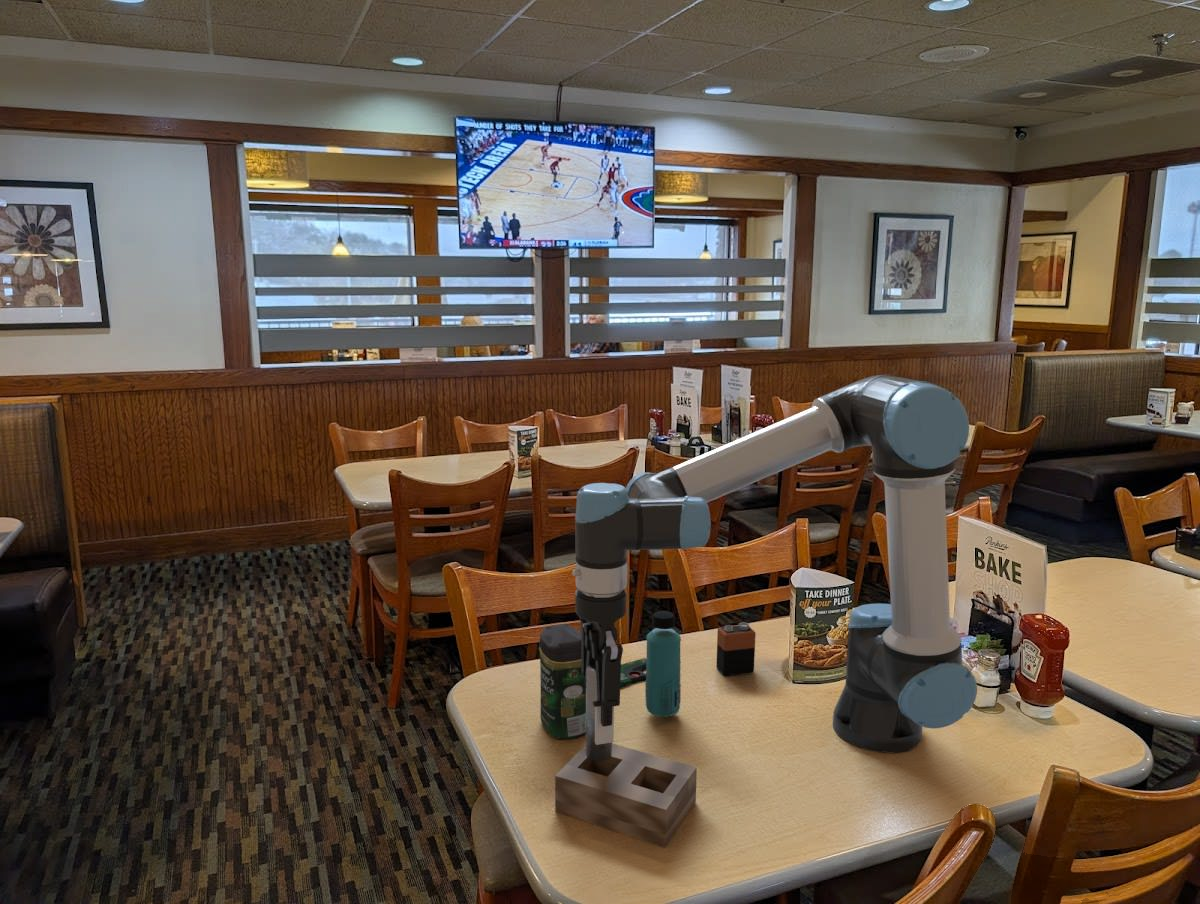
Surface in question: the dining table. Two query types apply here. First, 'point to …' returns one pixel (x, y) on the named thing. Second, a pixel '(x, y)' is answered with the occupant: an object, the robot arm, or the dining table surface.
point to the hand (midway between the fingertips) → (599, 734)
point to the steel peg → (593, 719)
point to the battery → (735, 649)
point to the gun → (633, 672)
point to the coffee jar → (562, 682)
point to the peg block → (628, 793)
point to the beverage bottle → (663, 666)
